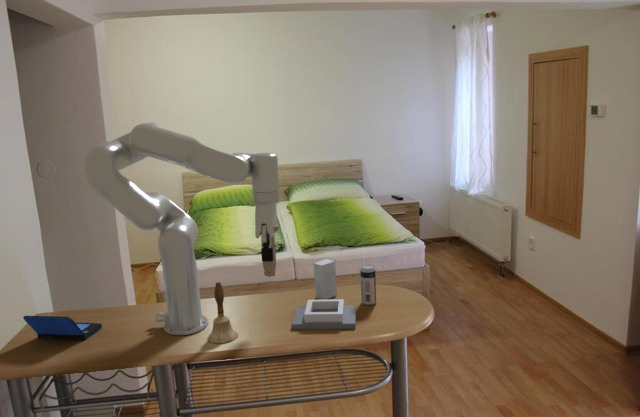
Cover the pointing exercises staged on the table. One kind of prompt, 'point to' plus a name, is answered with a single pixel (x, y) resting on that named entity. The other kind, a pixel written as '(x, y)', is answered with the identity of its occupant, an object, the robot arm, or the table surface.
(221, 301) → the hand bell
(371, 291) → the beer can
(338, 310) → the socket board
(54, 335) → the handheld game console
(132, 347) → the table surface
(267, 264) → the handle
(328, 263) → the skincare box
